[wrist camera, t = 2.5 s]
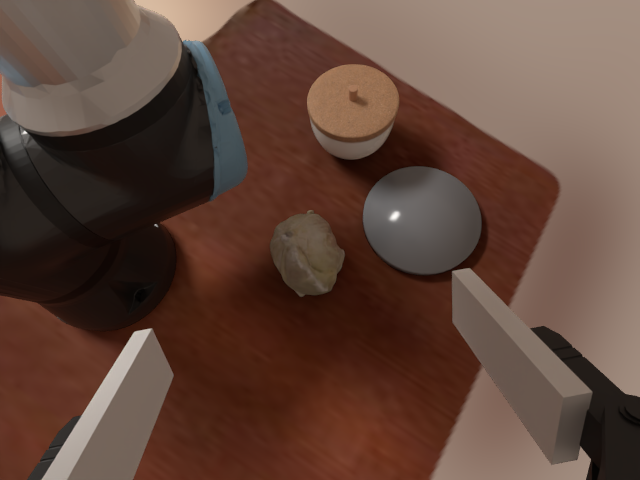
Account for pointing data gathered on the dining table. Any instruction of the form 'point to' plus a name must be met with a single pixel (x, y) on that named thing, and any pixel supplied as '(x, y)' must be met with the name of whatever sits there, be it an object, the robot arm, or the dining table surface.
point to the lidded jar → (352, 110)
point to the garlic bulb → (306, 254)
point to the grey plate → (421, 220)
